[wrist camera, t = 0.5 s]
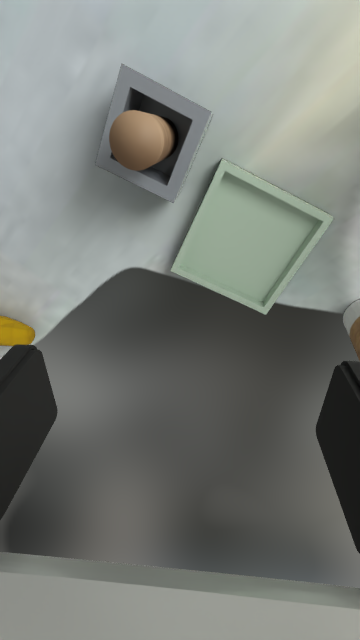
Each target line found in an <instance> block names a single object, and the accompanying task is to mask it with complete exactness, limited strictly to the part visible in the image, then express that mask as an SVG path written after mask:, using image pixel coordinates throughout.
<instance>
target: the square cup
mask: <svg viewBox="0 0 360 640" xmlns="http://www.w3.org/2000/svg"><path fill="white" fill-rule="evenodd" d="M129 110H137V111H141V112H145V113H150V114H154V115H158V116H162V117H166V118H168V119H169V120H171V121H172V122H173V123H174V125H175V126H176V128H177V131H178V137H179V140H178V145H177V148H176V150H175V152H174V153H173V154H172V155H171V156H169V157H167V158H166V159H164V160H162V161H160V162H158V163H156V164H154V165H152V166H150V167H148V168H146V169H144V170H140V171H135V170H130V169H127V168H125V167H124V166H122V165H121V164H120V163H119V162H118V161H117V160H116V158H115V157H114V155H113V153H112V151H111V148H110V143H109V133H110V129H111V126H112V124H113V122H114V120H115V119H116V118H117V117H118V116H119V115H120V114H122V113H123V112H126V111H129ZM212 116H213V114H212V112H211V111H209V110H207V109H205V108H203V107H202V106H200V105H198V104H196V103H194V102H192V101H190V100H189V99H187V98H185V97H183V96H181V95H179V94H177V93H176V92H174V91H172V90H170V89H168V88H166V87H164V86H163V85H161V84H159V83H157V82H155V81H153V80H152V79H150V78H148V77H146V76H144V75H142V74H140V73H139V72H137V71H135V70H133V69H131V68H129V67H127V66H126V65H124V64H121V67H120V71H119V75H118V79H117V82H116V86H115V90H114V94H113V98H112V101H111V105H110V109H109V113H108V117H107V120H106V124H105V128H104V132H103V136H102V139H101V143H100V147H99V151H98V154H97V158H96V162H95V165H96V166H98V167H101V168H103V169H105V170H107V171H109V172H111V173H113V174H115V175H117V176H119V177H121V178H123V179H125V180H127V181H129V182H131V183H133V184H135V185H137V186H139V187H141V188H143V189H145V190H147V191H150V192H152V193H154V194H156V195H158V196H160V197H162V198H164V199H166V200H168V201H170V202H172V203H174V201H175V200H176V198H177V197H178V195H179V193H180V192H181V190H182V187H183V185H184V182H185V180H186V178H187V175H188V173H189V171H190V168H191V166H192V163H193V161H194V159H195V156H196V154H197V152H198V149H199V147H200V144H201V142H202V140H203V137H204V135H205V132H206V130H207V128H208V125H209V123H210V121H211V118H212Z"/></svg>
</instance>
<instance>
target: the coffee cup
mask: <svg viewBox="0 0 360 640" xmlns="http://www.w3.org/2000/svg"><path fill="white" fill-rule="evenodd" d="M343 323H344V326H345V328H346V330H347V332H348V334H349V337H350V339H351V341H352V344H353V346H354V349H355V351H356V353H357V356H358V358H359V360H360V299H359V300H357V301H355V302H353V303H352V304H351V305H350V306H349V307H348V308H347V309H346V311H345V313H344V315H343Z"/></svg>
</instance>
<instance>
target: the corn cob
mask: <svg viewBox="0 0 360 640" xmlns="http://www.w3.org/2000/svg"><path fill="white" fill-rule="evenodd" d="M34 338H35V331H34V329H33V328H31V327H29V326H27V325H25V324H23V323H22V322H19V321H16V320H14V319H11V318H8V317H5V316H0V346H2V345H4V346H14V345H17V344H19V345H28V344H31V343H32V341H33V340H34Z"/></svg>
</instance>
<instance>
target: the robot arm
mask: <svg viewBox="0 0 360 640" xmlns="http://www.w3.org/2000/svg"><path fill="white" fill-rule="evenodd" d="M56 416H57V406H56V403H55V399H54V395H53V392H52V388H51V385H50V381H49V377H48V373H47V370H46V366H45V363H44V359H43V355H42V352H41V351H40V350H37V348H36V347H35V346H34V345H19V344H17V345H14V346H13V347H12V348H11V349H10V350H9V351H8V352H7V353H6V354H5V355H4V356H3V357H2V359H1V360H0V519H1V518H2V517H3V515H4V513H5V512H6V510H7V508H8V506H9V504H10V502H11V501H12V499H13V497H14V495H15V493H16V491H17V490H18V488H19V485H20V484H21V482H22V480H23V478H24V477H25V475H26V473H27V471H28V469H29V468H30V466H31V464H32V462H33V460H34V458H35V456H36V455H37V453H38V451H39V449H40V447H41V445H42V444H43V442H44V440H45V438H46V436H47V434H48V432H49V431H50V429H51V427H52V425H53V423H54V421H55V419H56ZM316 435H317V439H318V441H319V445H320V447H321V450H322V453H323V456H324V459H325V462H326V464H327V467H328V470H329V473H330V476H331V478H332V481H333V484H334V487H335V489H336V492H337V495H338V498H339V501H340V504H341V507H342V509H343V512H344V515H345V518H346V521H347V524H348V527H349V529H350V532H351V535H352V538H353V541H354V543H355V546H356V549H357V551H358V552H359V553H360V362H355V361H354V362H353V361H343V362H342V363H341V365H339V366H338V365H337V366H336V367H335V369H334V372H333V375H332V378H331V381H330V384H329V388H328V391H327V394H326V397H325V400H324V403H323V406H322V410H321V412H320V416H319V419H318V422H317V425H316ZM0 640H360V589H359V588H352V587H344V586H336V585H327V584H319V583H309V582H300V581H290V580H281V579H271V578H262V577H261V578H260V577H252V576H242V575H233V574H223V573H213V572H203V571H193V570H182V569H173V568H163V567H153V566H142V565H132V564H122V563H111V562H100V561H91V560H80V559H70V558H59V557H48V556H37V555H26V554H15V553H5V552H0Z"/></svg>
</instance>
